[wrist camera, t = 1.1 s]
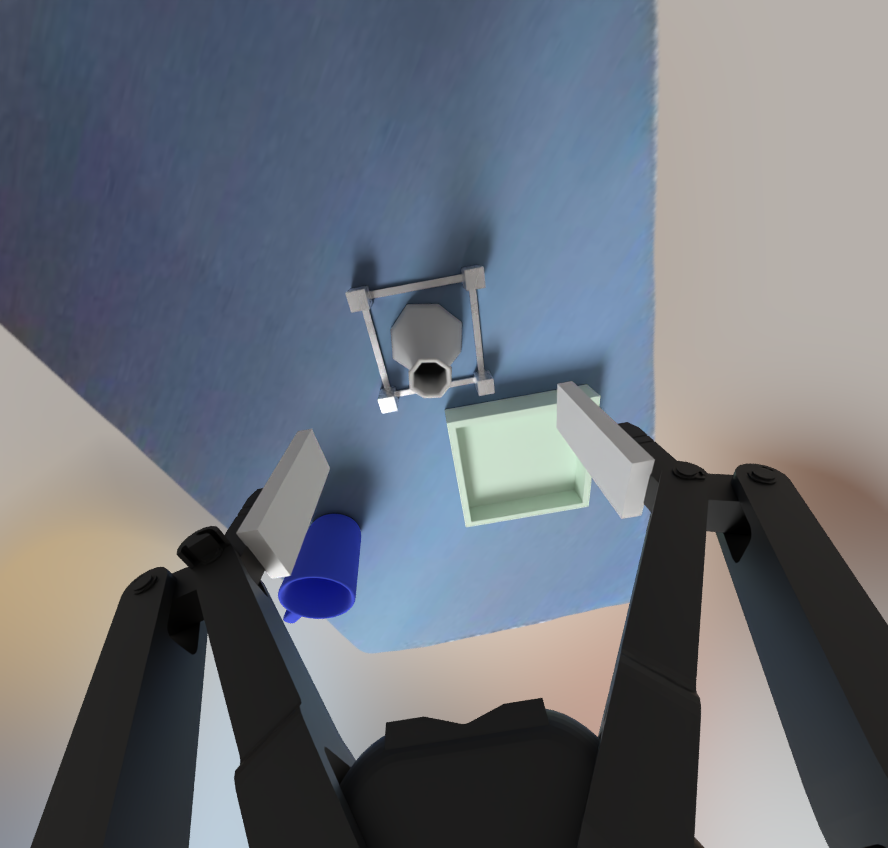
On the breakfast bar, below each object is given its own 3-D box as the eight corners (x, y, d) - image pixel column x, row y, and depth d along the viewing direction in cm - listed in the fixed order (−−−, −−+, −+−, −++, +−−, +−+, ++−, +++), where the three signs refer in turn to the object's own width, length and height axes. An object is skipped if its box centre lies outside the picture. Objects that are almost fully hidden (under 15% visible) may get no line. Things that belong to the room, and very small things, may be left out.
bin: (444, 409, 35) (446, 423, 32) (586, 384, 35) (600, 396, 32) (463, 510, 43) (466, 527, 41) (578, 490, 43) (588, 506, 40)
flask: (400, 290, 29) (392, 312, 20) (473, 315, 30) (496, 346, 22) (382, 363, 32) (369, 409, 23) (449, 382, 33) (460, 432, 25)
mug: (282, 548, 45) (250, 622, 36) (324, 496, 40) (299, 566, 32) (334, 568, 48) (316, 640, 39) (378, 522, 43) (369, 592, 35)
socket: (350, 288, 28) (345, 292, 26) (478, 264, 28) (483, 266, 26) (384, 402, 34) (382, 413, 32) (489, 383, 34) (494, 393, 32)
